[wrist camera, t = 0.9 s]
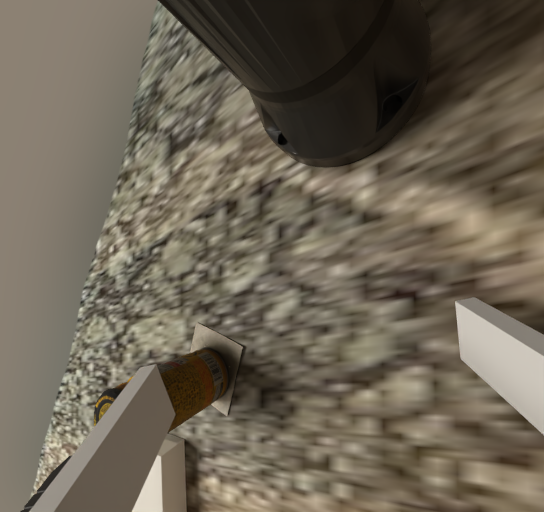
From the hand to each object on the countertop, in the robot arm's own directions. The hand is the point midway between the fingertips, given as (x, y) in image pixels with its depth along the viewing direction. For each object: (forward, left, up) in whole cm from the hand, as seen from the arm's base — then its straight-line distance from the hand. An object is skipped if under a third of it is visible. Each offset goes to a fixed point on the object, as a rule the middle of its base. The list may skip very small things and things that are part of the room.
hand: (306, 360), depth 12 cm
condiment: (+7, -18, -14) cm, 24 cm away
